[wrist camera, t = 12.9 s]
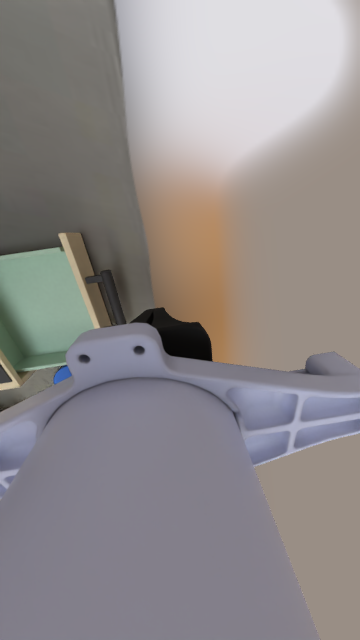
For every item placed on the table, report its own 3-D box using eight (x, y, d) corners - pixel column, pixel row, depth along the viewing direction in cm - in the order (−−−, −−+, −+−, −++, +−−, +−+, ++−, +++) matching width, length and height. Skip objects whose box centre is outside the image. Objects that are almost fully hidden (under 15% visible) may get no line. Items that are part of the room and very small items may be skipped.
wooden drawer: (-41, 250, 18) (-80, 253, 15) (105, 229, 18) (94, 228, 15) (29, 363, 24) (11, 380, 21) (138, 346, 24) (135, 361, 21)
